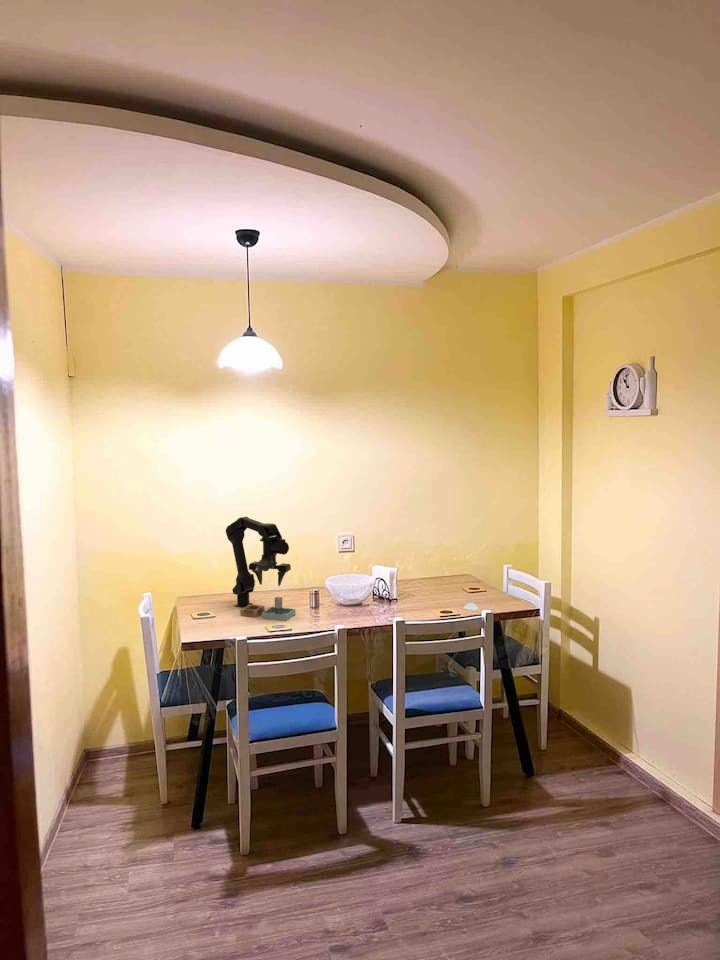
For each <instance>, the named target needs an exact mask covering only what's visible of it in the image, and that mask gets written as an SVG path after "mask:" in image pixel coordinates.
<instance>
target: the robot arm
mask: <svg viewBox="0 0 720 960" xmlns="http://www.w3.org/2000/svg"><path fill="white" fill-rule="evenodd" d="M248 529H249V530H251V531H255V532H256V533H257V534H258V535H259V536H260V537H261V538H260V539H259V542H262V554H261V558H260V560H259V561H252V562H250V563H249V565H248V562H247V557H246V553H245V548H244V542H243V541H244V538H245V532H246V530H248ZM225 534H226V535H225V536H226V538H227V539H228V541H229V542H230V543H231V545H232V550H233V555H234V561H235V566H236V570H237V575H236V579H235V586H233V588H232V594H233V595H236V597H237V598H236V600H237V601H236V604H235V605H234V607H236V608H244V607H246V606H247V605H253V602H250V594H251V593H253V592H254V589H255V585H256V580H255V576H256V578H257V580H258V583H259V585H261V586H262V583H263V572H268V571H270V570H277V571H278V572H277V578H278V579H277V585H278V587H280V586H281V585H282V581H283V579H284V577H285V575H286V573H288V572H289V571H291V569H292V568H291V567H292V566H291V564H290V563H281V564H278V562H277V555H278V554H279V555H283V556H284V555H286V554H288V552H289V549H290V546H289V544H288V542H286V539H284V538H283V537H282V534H281V532H280V531H279V528H278V527H277V525H276V524H275V523H270V522H269V523H268V522H267V523H264V522H260V521H257V520H255V519H252V518H250V517H248V516H242V517H239V518H237V519H236V520H235V521H234V522H233V521H232V523H230V524H228V525H227V527H226V528H225ZM269 569H270V570H269ZM249 570H250V571H249ZM251 572H253V573H254V574H255V575H254V574H253V573H251Z"/></svg>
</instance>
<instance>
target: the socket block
mask: <svg viewBox="0 0 720 960" xmlns="http://www.w3.org/2000/svg"><path fill="white" fill-rule="evenodd" d="M264 611H266V610H265V605H258V604H252V605H247V606H246V607H241V608H240V616H241V617H249V618H259V616H262V612H264Z"/></svg>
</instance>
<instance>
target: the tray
mask: <svg viewBox="0 0 720 960" xmlns="http://www.w3.org/2000/svg"><path fill="white" fill-rule="evenodd" d="M294 616H296V608H289V607H288V608H287V607H282V614H275V606H270V607H269V608H267V609H266V610H265V611H264V612H262V614H261V619H262V620H273V621H282V622H287V621H289V620H290V619H292V618H293V617H294Z"/></svg>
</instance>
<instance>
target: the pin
mask: <svg viewBox="0 0 720 960" xmlns="http://www.w3.org/2000/svg"><path fill="white" fill-rule="evenodd" d="M274 607H275V614H282V608H283V597H282V596H276V597H274Z"/></svg>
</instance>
